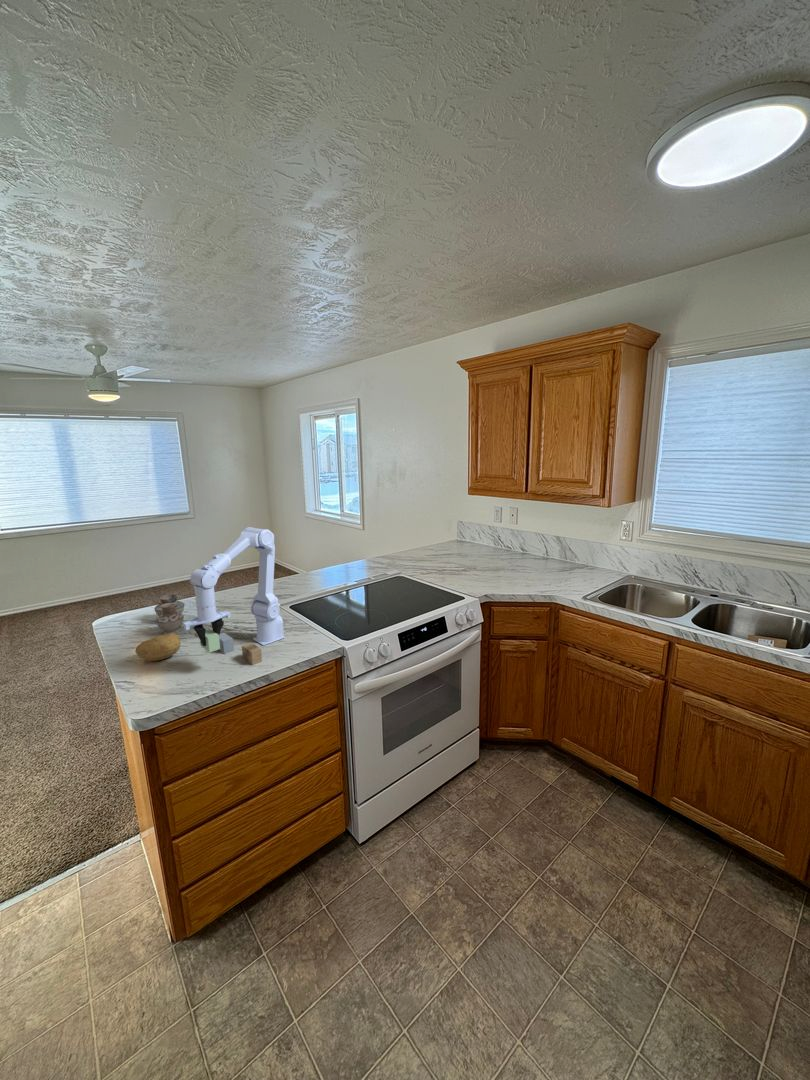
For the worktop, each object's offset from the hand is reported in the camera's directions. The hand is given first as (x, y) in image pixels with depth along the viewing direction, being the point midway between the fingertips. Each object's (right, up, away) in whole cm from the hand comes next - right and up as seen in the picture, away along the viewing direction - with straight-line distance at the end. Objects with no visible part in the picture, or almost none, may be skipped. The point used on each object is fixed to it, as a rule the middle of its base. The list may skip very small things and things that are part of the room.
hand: (210, 643), depth 146 cm
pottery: (-31, -1, +35) cm, 47 cm away
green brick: (0, -1, 0) cm, 2 cm away
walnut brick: (+12, -8, +7) cm, 16 cm away
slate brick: (-1, -6, +15) cm, 16 cm away
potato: (-21, -8, +8) cm, 23 cm away
